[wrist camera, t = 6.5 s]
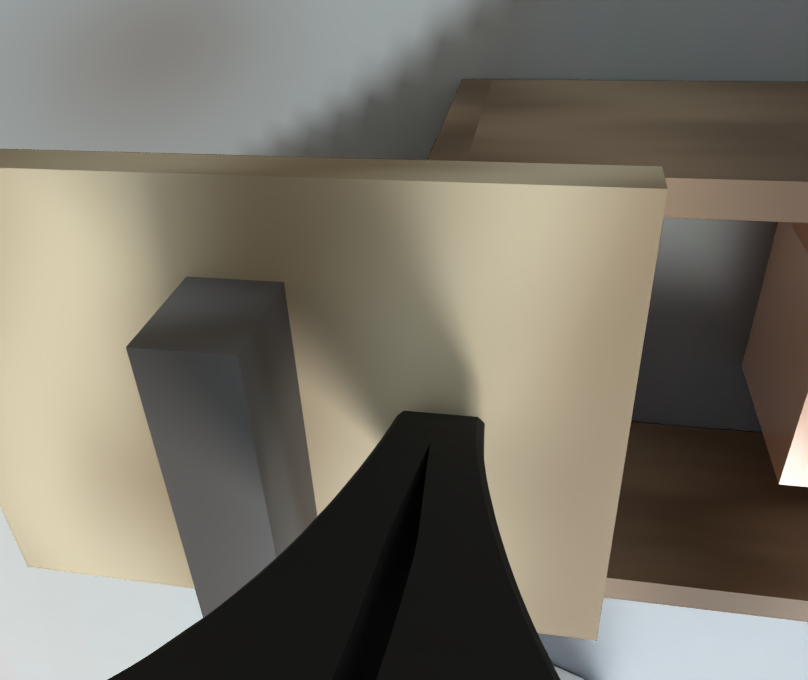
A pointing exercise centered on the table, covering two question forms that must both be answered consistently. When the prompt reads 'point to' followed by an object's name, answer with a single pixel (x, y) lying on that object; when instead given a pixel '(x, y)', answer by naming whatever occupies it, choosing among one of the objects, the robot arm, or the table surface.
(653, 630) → the table surface
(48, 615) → the table surface
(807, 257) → the cube
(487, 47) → the table surface
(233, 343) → the lid
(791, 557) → the box
